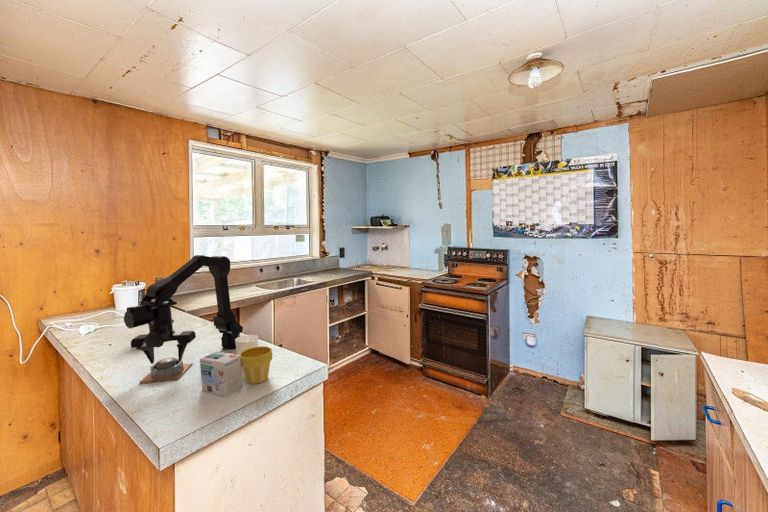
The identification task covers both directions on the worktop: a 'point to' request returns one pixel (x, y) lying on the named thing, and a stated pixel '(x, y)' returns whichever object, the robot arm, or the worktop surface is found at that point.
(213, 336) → the worktop surface
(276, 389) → the worktop surface
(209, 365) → the light bulb box
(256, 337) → the white cup
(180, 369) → the ring mount
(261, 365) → the plant pot
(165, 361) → the gray tapered cylinder
